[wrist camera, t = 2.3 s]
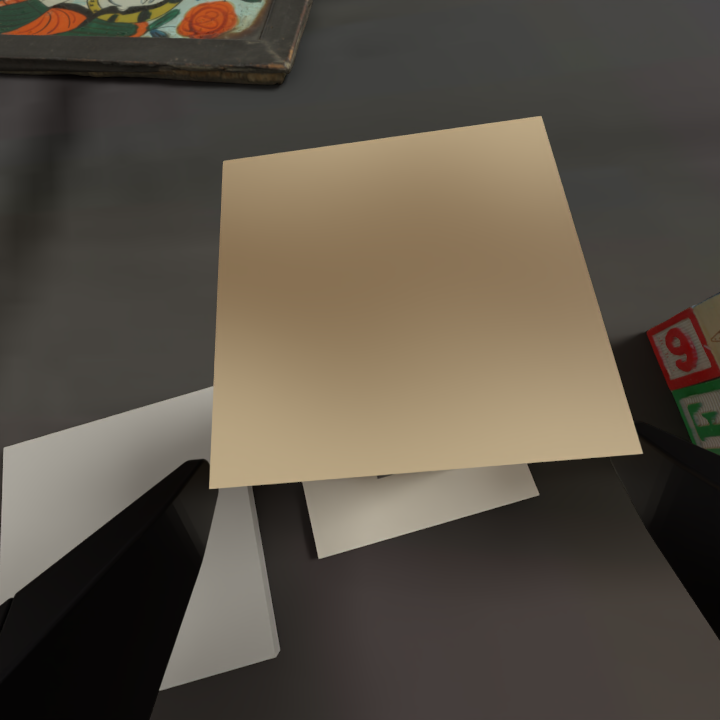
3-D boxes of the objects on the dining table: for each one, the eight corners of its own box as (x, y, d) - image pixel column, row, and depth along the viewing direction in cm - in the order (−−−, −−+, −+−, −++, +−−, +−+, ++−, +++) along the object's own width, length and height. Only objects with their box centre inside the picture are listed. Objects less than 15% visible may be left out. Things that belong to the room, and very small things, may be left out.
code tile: (536, 494, 16) (539, 495, 16) (320, 556, 16) (318, 559, 16) (458, 300, 19) (459, 296, 19) (276, 353, 19) (274, 350, 19)
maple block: (456, 466, 16) (643, 454, 4) (346, 475, 17) (209, 488, 4) (440, 361, 18) (541, 116, 6) (339, 371, 18) (223, 161, 6)
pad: (280, 650, 15) (275, 657, 15) (9, 728, 15) (-6, 738, 15) (234, 384, 19) (229, 381, 18) (15, 448, 19) (3, 447, 18)
